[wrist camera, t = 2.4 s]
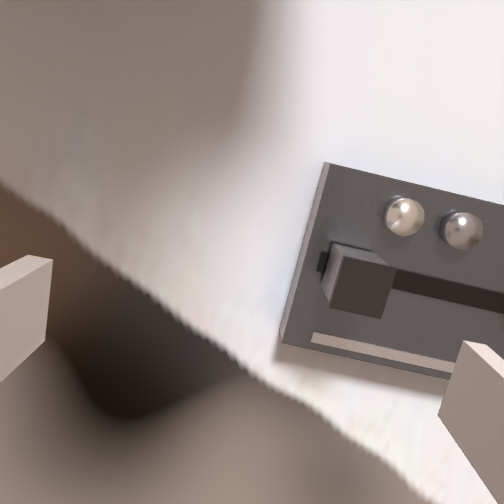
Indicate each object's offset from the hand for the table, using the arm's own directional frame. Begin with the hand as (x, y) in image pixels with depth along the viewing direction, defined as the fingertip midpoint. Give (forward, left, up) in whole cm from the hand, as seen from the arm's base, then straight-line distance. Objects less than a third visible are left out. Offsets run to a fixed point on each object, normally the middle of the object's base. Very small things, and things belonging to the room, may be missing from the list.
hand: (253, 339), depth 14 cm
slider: (+7, -1, -16) cm, 17 cm away
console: (+19, -1, -19) cm, 27 cm away
